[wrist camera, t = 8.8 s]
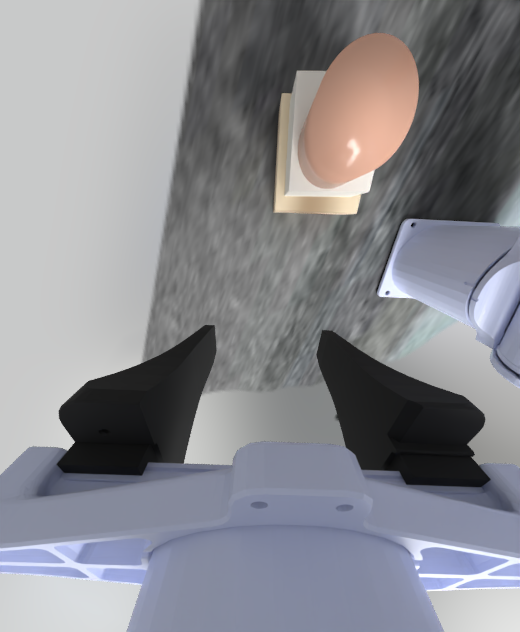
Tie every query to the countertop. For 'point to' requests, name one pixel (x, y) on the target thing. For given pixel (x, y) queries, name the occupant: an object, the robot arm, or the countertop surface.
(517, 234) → the robot arm
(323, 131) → the pink oval piece
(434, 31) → the countertop surface
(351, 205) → the base block
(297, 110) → the top block
